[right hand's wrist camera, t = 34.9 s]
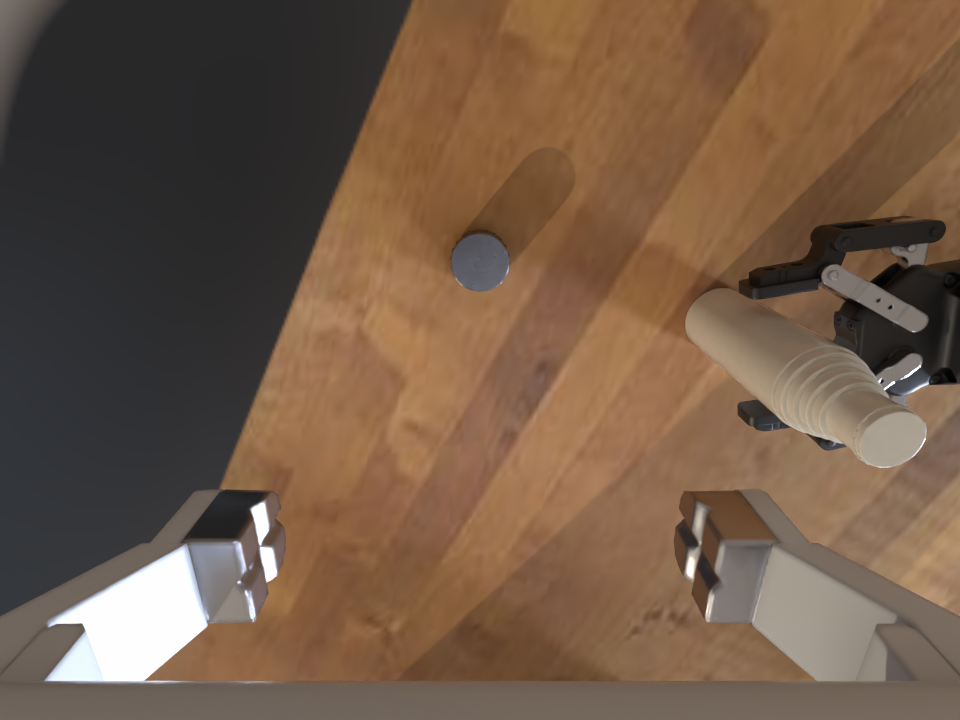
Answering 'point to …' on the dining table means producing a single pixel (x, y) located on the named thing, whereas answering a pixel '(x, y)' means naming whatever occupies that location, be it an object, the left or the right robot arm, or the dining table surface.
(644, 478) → the dining table surface
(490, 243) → the cap
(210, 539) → the right robot arm
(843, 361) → the bottle
